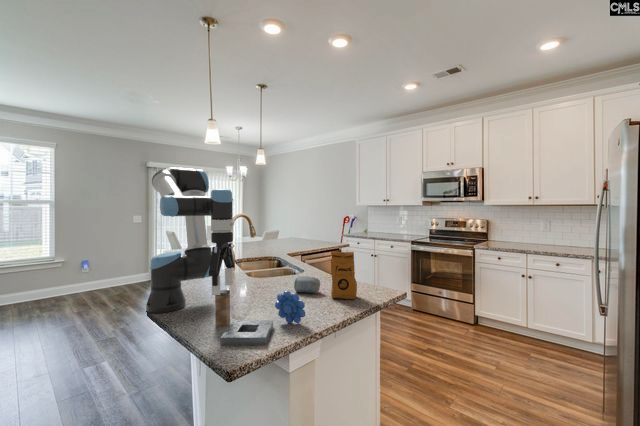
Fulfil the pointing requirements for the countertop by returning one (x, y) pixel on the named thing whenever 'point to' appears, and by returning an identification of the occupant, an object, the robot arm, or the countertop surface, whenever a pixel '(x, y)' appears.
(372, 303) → the countertop surface
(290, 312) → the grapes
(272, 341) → the countertop surface
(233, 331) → the gray square hole plate
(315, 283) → the spool
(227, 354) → the countertop surface
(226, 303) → the wooden block
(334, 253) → the coffee package
